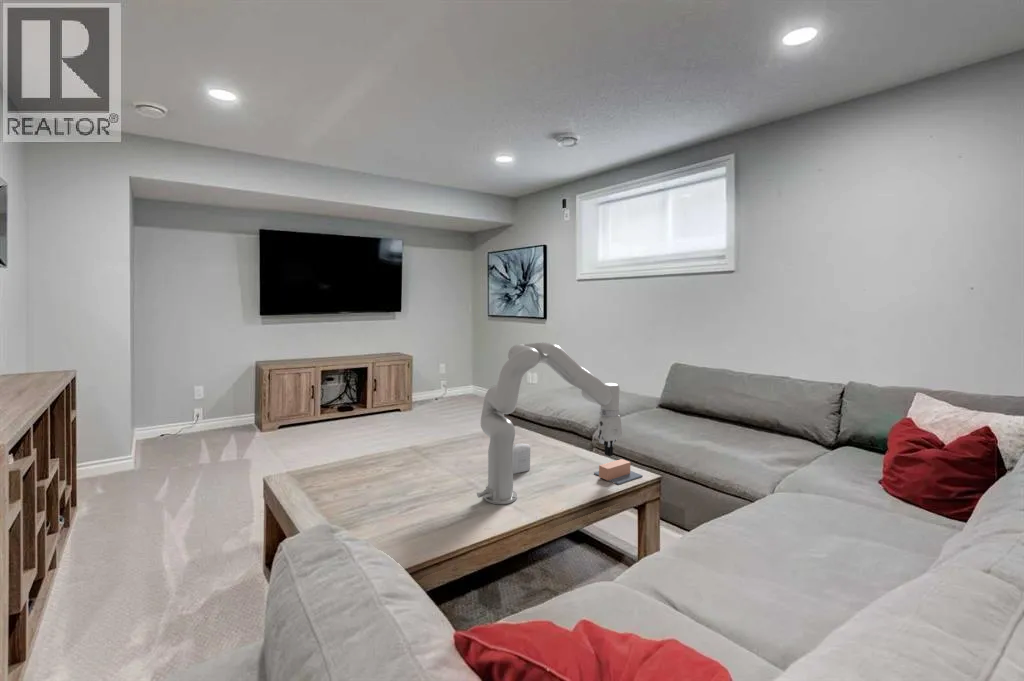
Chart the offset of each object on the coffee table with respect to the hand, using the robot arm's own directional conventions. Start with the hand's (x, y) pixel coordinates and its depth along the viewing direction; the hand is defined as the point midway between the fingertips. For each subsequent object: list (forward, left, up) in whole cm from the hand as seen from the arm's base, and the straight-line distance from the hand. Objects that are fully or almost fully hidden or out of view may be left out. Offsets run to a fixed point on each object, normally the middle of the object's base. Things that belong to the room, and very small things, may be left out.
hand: (608, 455), depth 202 cm
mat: (+6, 0, -10) cm, 12 cm away
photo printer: (-26, +28, -11) cm, 40 cm away
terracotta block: (-3, 0, -7) cm, 8 cm away
